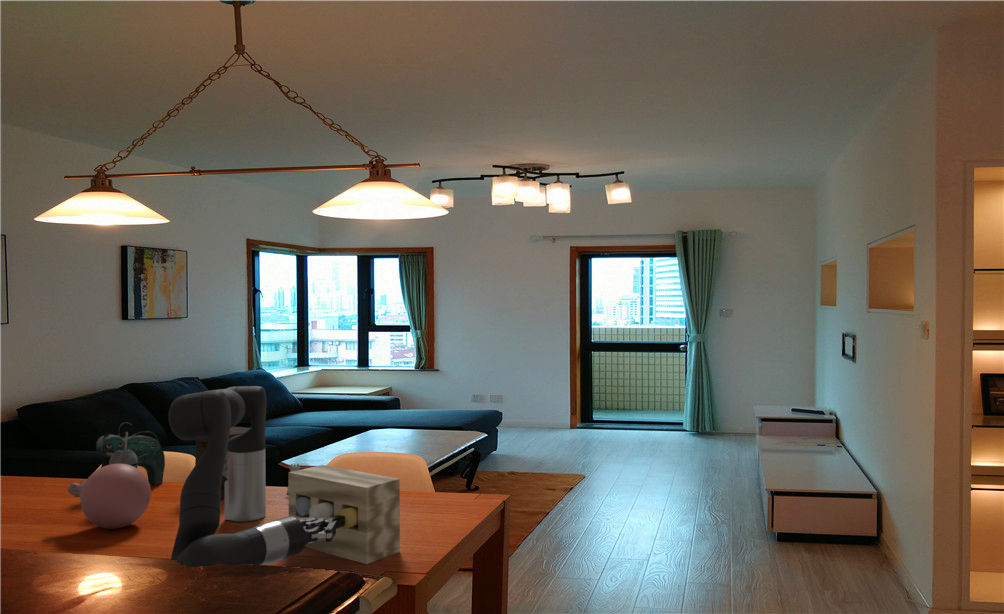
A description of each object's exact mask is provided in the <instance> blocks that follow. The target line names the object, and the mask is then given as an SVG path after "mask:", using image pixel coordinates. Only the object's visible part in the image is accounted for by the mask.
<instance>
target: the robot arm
mask: <svg viewBox="0 0 1004 614" xmlns="http://www.w3.org/2000/svg"><path fill="white" fill-rule="evenodd" d="M266 393H267V392H266V389H265V388H264V387H263V386H258V385H252V386H251V385H249V386H248V385H243V386H241V385H240V386H229V387H227V388H218V389H212V390H205V391H200V392H199V391H198V392H193V393H188V394H187V393H186V394H183V395H180V396H178V397H176V398H175V399H174V400H172V402H171V405H170V407H169V410H168V424H169V427H170V430H171V431H172V433H173V435H175V436H176V437H177V438H178V439H180V440H182V441H193V440H194V441H195V440H196V439H201V438H207V437H210V438H209V442H208V445H207V447H206V449H205V451H204V453H203V455H202V456H201V458H200V459H199V461H198V462H197V464H196V465H195V464H194V467H193V468H192V470H191V471H190V472H189V475H187V477H186V479H185V481H184V483H183V485H182V489H181V490H180V491H181V493H180V498H179V516H178V517H179V518H178V519H179V520H178V523H179V525H178V529H177V533H176V535H175V540H174V544H173V549H172V553H171V556H170V561H171V560H177V561H175V562H177V563H179V564H180V565H185V566H187V567H199V566H203V567H204V566H212V565H216V564H219V563H224V564H253V565H259V566H261V565H262V566H264V565H268V564H272V563H275V562H278V561H281V560H284V559H286V558H290V557H294V556H296V555H299V554H300V553H301V552H303V550H304V548H306V547H305V545H306V543H313V542H315V541H317V540H318V539H320V538H324V540H325V541H326V542H331V541H332V540H333V538H334V536H335V534H336V529H337V528H340V527H343V526H345V516H342V515H337V516H333V517H330V518H325V517H323V518H320V519H319V517H309V518H296V517H293V516H289V515H288V516H286V517H281V518H278V519H275V520H271V521H267V522H264V523H260V524H258V525H256V526H253V527H251V528H247V529H244V530H240V531H237V532H233V533H216V532H217V531H218V529H219V526H220V523H221V522H220V521H221V500H220V493H221V481H222V474H223V468H224V463H225V458H226V452H227V481H225V483H224V500H223V501H224V520H225V521H227V520H228V521H231V522H252V521H257V520H261V519H263V518H265V517H266V511H267V510H266V509H267V508H266V505H267V504H266V499H267V498H266V494H267V493H266V488H267V486H266V419H267V400H268V399H267V394H266ZM243 423H244V424H247V423H248V424H249V423H251V424H250V425H251V426H250V428H248V429H249V430H248V431H246V432H245V433H243V434H240V435H237V436H234V437H232V438H230V439H229V434H230V428H232V427H236V426H237V425H238V424H243Z"/></svg>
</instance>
